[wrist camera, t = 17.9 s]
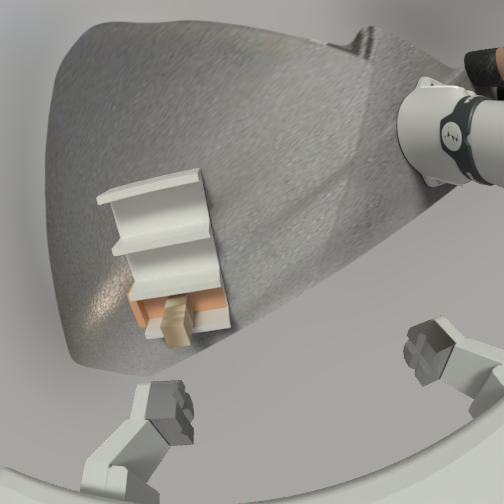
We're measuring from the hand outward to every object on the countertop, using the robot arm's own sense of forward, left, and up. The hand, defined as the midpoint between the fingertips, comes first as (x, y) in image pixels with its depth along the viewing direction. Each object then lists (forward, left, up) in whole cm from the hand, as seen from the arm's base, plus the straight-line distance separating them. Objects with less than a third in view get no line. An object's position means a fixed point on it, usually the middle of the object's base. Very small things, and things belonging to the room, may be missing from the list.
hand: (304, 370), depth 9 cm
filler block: (+11, +14, -30) cm, 35 cm away
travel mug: (-48, -20, -31) cm, 61 cm away
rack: (+11, +8, -31) cm, 34 cm away
